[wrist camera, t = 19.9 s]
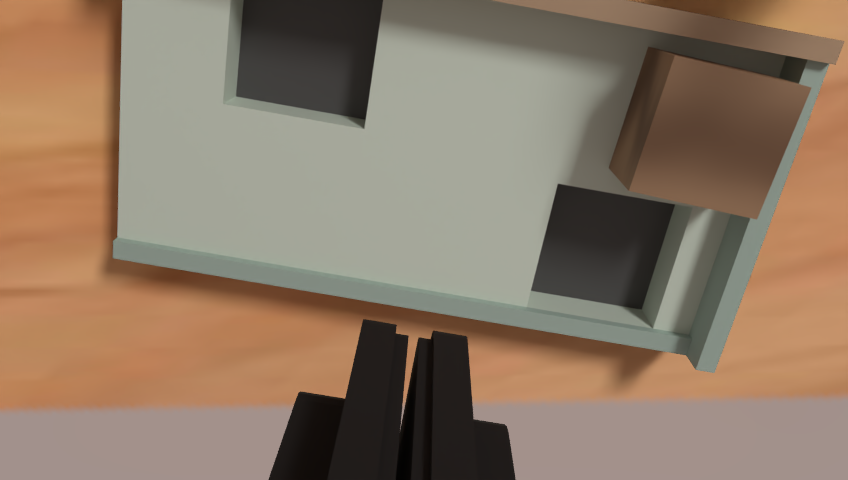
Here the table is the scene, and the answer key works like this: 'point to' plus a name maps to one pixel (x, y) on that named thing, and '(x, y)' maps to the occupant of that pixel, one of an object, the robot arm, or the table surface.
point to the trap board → (436, 158)
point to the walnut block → (706, 133)
